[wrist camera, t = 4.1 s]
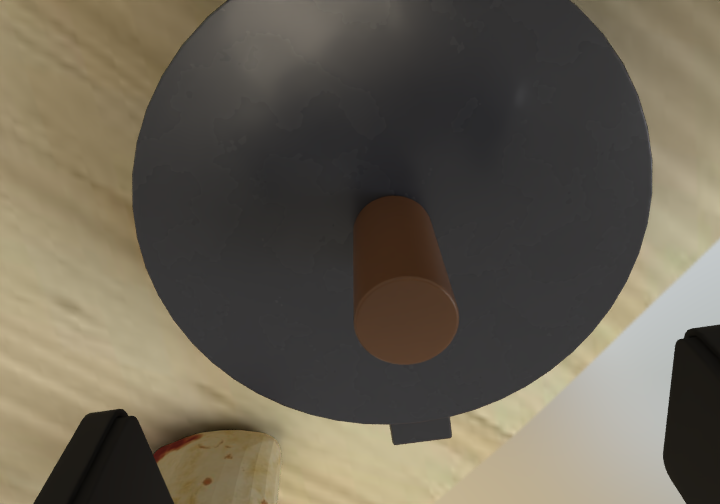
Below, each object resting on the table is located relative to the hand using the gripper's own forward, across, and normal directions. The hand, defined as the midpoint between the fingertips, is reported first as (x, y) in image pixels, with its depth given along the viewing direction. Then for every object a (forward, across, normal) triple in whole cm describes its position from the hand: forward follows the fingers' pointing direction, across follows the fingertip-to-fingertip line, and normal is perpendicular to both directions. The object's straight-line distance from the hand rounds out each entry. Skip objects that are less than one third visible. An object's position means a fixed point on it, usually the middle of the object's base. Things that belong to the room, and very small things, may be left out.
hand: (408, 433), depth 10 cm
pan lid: (+9, 0, 0) cm, 9 cm away
